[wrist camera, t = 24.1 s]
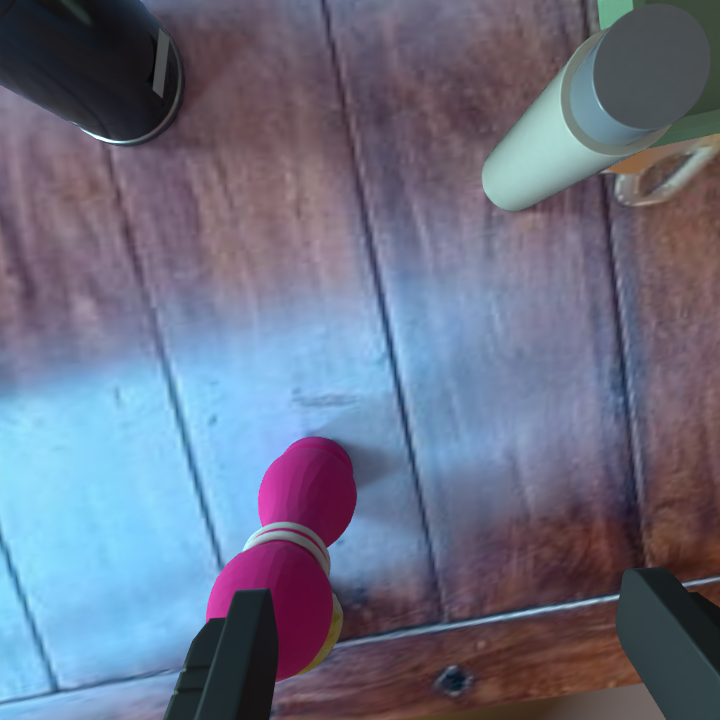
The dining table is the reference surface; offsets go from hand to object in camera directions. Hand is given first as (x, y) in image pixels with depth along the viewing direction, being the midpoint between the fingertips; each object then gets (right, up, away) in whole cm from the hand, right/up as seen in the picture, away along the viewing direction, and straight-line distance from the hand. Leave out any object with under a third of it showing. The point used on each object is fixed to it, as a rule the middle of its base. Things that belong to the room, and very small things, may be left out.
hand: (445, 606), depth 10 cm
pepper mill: (-6, -4, +27) cm, 28 cm away
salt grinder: (+10, +19, +22) cm, 31 cm away
